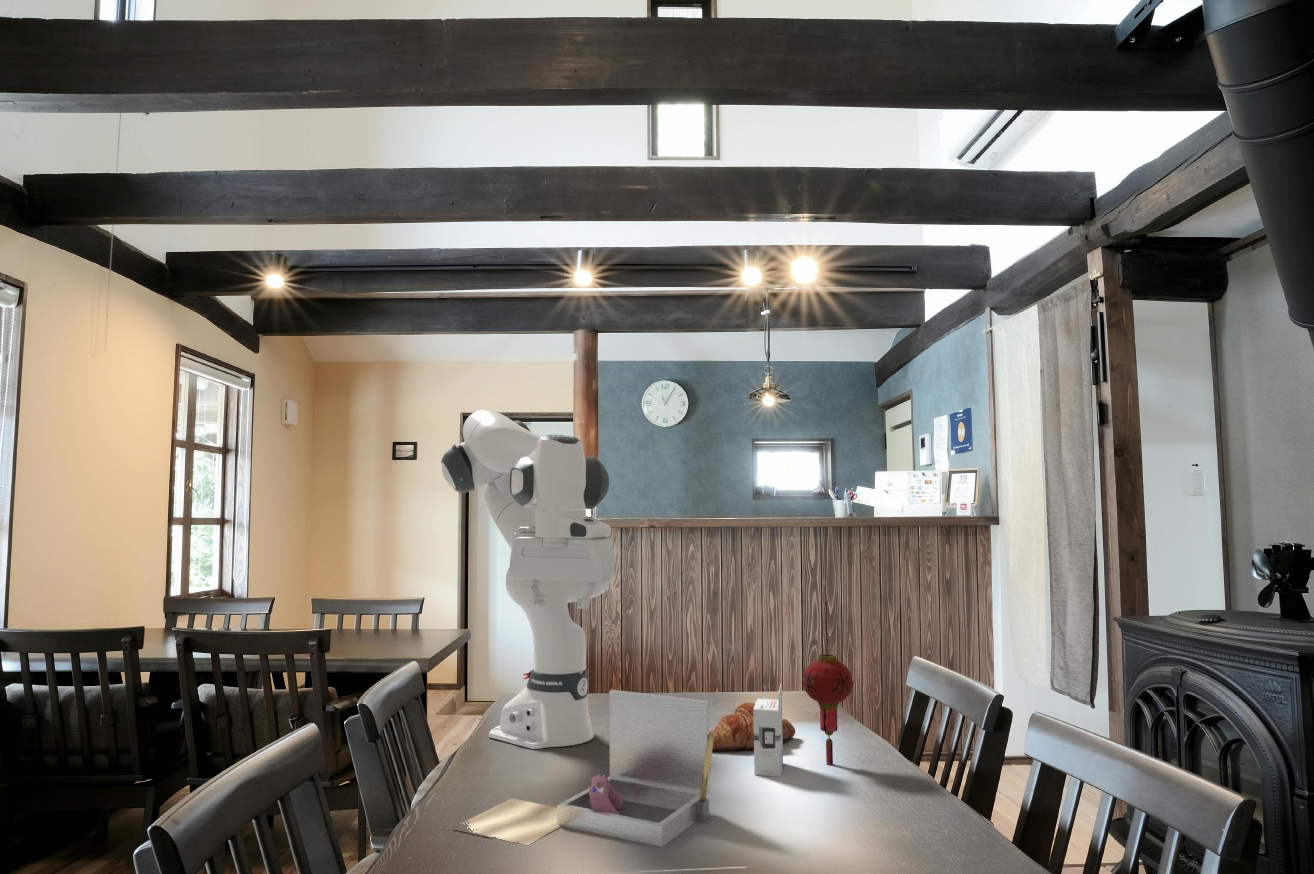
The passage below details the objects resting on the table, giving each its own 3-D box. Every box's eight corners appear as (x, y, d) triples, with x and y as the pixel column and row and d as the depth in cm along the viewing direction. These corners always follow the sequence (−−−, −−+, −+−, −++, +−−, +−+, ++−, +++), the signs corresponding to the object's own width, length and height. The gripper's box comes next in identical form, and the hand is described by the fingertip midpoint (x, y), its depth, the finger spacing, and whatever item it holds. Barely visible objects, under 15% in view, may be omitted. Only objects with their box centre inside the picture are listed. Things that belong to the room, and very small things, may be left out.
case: (557, 828, 126) (557, 710, 127) (612, 795, 140) (612, 689, 141) (669, 853, 116) (668, 725, 118) (717, 815, 130) (715, 701, 132)
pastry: (775, 759, 159) (775, 717, 160) (700, 750, 165) (699, 709, 166) (796, 736, 175) (795, 697, 175) (726, 729, 181) (726, 691, 181)
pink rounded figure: (597, 814, 133) (585, 771, 133) (625, 805, 133) (612, 762, 134) (595, 839, 123) (582, 793, 124) (625, 829, 123) (611, 783, 124)
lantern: (794, 759, 158) (791, 600, 161) (835, 753, 162) (832, 597, 164) (823, 774, 150) (819, 605, 152) (866, 767, 153) (861, 602, 156)
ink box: (757, 760, 158) (756, 681, 159) (783, 762, 157) (782, 682, 158) (753, 775, 150) (752, 691, 151) (781, 777, 149) (779, 692, 150)
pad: (452, 832, 124) (452, 827, 124) (511, 802, 137) (511, 797, 137) (527, 851, 118) (527, 845, 118) (582, 817, 130) (582, 812, 130)
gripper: (502, 526, 147) (501, 605, 146) (599, 527, 138) (599, 612, 137) (524, 525, 153) (523, 602, 152) (619, 526, 143) (619, 608, 142)
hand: (560, 607), depth 144 cm, fingers open, 8 cm apart
